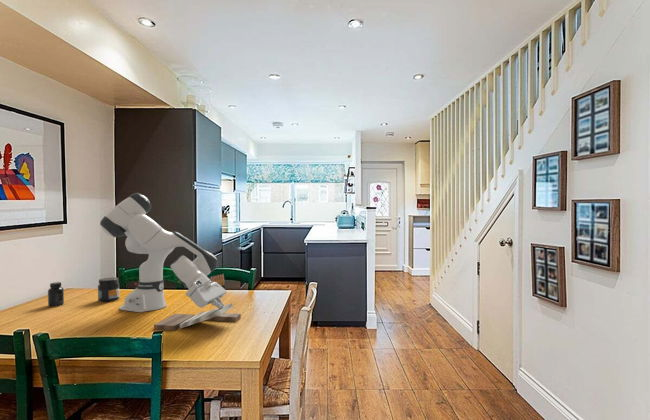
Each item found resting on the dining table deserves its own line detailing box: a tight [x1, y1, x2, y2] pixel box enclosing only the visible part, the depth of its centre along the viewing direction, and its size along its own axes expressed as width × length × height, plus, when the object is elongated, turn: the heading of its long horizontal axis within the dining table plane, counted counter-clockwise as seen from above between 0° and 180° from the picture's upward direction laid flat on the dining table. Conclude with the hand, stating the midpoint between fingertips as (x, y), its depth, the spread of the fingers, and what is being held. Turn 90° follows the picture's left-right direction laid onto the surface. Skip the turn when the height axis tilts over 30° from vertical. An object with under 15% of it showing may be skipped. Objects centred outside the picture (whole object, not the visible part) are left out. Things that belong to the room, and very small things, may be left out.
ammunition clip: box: [209, 273, 226, 290], centre depth 217 cm, size 11×2×12 cm, turn 149°
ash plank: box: [179, 302, 234, 329], centre depth 162 cm, size 20×12×2 cm, turn 80°
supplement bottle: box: [47, 281, 65, 307], centre depth 195 cm, size 7×7×12 cm
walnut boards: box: [153, 311, 242, 331], centre depth 165 cm, size 31×21×2 cm
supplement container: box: [97, 276, 120, 303], centre depth 206 cm, size 10×10×12 cm
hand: (222, 307), depth 159 cm, fingers closed
